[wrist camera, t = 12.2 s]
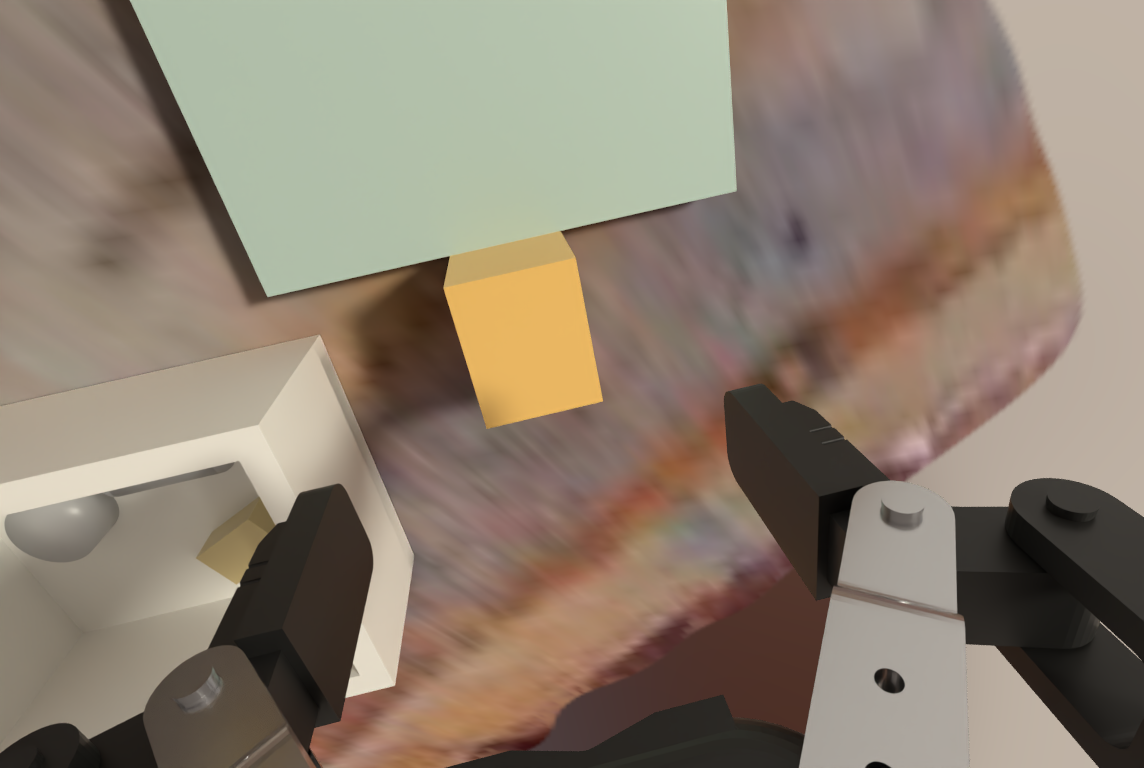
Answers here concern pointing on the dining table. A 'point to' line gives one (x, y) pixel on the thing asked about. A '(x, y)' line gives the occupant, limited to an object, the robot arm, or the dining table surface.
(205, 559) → the tub
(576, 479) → the dining table surface
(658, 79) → the lid
